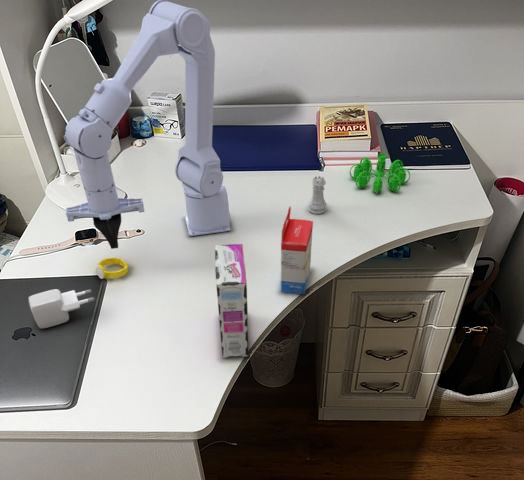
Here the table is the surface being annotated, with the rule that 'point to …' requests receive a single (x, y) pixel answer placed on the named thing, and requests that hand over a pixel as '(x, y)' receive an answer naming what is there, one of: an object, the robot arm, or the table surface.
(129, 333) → the table surface
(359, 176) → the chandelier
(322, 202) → the rook chess piece
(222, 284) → the candy bar box
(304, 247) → the ink box
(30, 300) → the power adapter
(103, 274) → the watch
